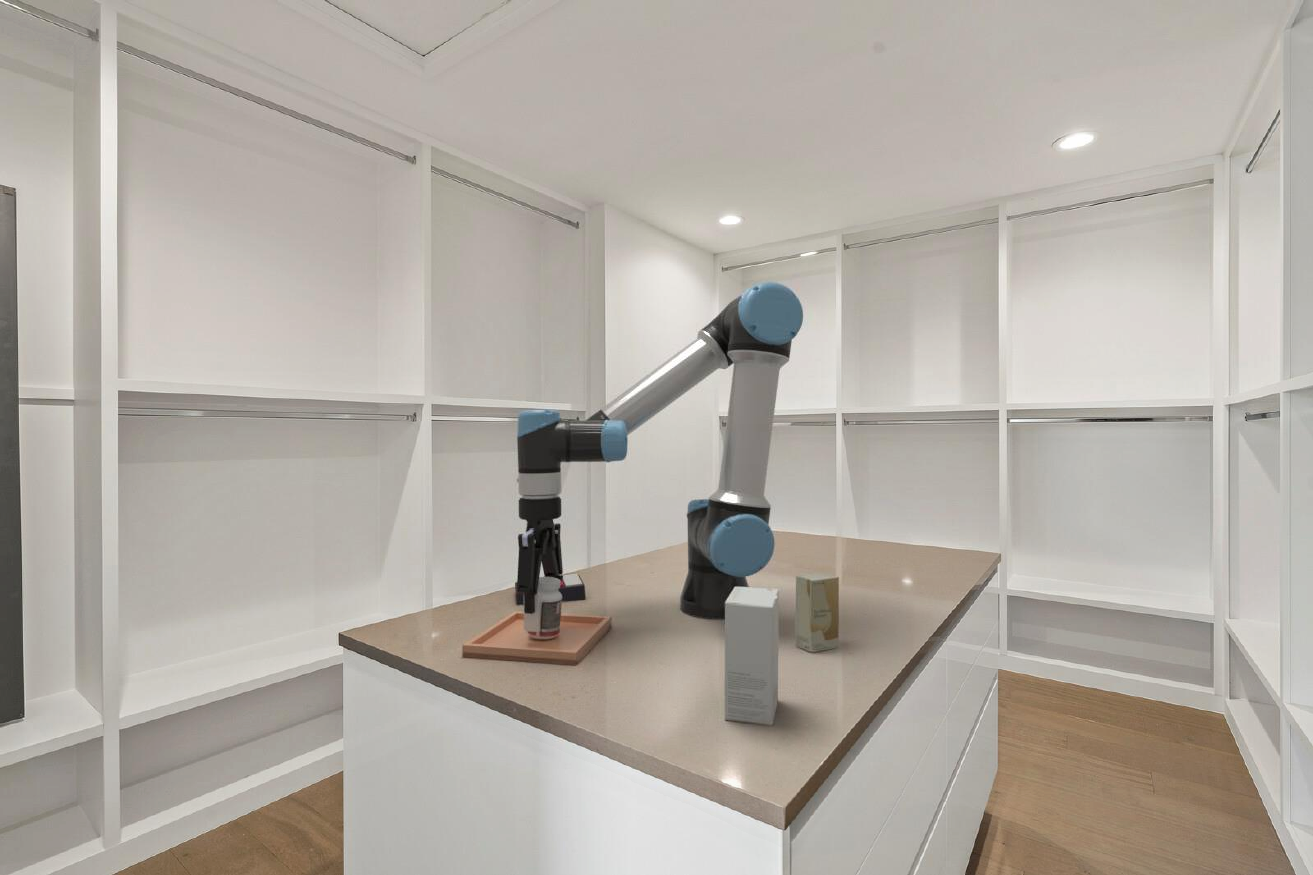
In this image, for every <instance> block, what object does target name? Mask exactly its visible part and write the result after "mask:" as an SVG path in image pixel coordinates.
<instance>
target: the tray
mask: <svg viewBox="0 0 1313 875" xmlns="http://www.w3.org/2000/svg"><path fill="white" fill-rule="evenodd" d="M612 625H613V620H612V616H605V615H604V616H602V615H588V614H587V615H586V614H568V613H561V619H560V631H559V635H558V636H557V637H555V638H552V639H535V638H532V637H530V636H529V635H528V633H527V631H524V611H517V610H516V611H515V610H514V611H513V612H511V613H510V614H509V615H506V616H505V617H503V618H502V619H501V620H499V621H497V622H496V623H495V624H493V625H491V626H490V627H488V628H487V629H485V630H484V631H482V632H480V633H478V634H477V635H476V636H474V637H472V638H471V639H469V640H467V641H466V642H464V643H463V644H461V645H462V651H461V652H462V653H461V655H462V658H470V659H483V660H484V659H485V660H486V659H487V660H498V661H510V662H513V661H514V662H528V663H537V664H538V663H541V664H553V665H565V666H566V665H567V666H577V664H579V662H580V661H581V660H583V658H584V657H585V656H586V655H587V654H588V653H589V652H590V651H591V650H592V649H593V648H594V647H595V646H596V644H597V643H599V641H600V640H601V639H602V638H603V637H604V636H605V635H606V634H607V633H608V632H609V631H610V630H611V629H612V627H613V626H612Z"/></svg>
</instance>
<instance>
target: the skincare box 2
mask: <svg viewBox="0 0 1313 875" xmlns="http://www.w3.org/2000/svg"><path fill="white" fill-rule="evenodd" d="M839 584H840V577H839V576H835V575H832V574H829V573H826V572H818V573H817V572H816V573H807V574H801V575H796V576H795V646H797V647H799V648H801V649H803V650H806V651H808V652H809V653H815V652H820V651H826V650H827V651H828V650H830V649H831V650H833V649H838V648H839V641H840V640H839V638H840V637H839V634H840V633H839V624H840V623H839V613H840V610H839V608H840V607H839V605H840V603H839V602H840V599H839V598H840V596H839V595H840V593H839V591H840V587H839V586H840V585H839Z"/></svg>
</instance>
